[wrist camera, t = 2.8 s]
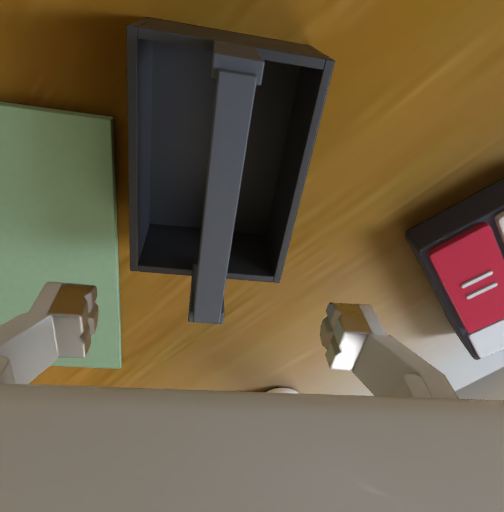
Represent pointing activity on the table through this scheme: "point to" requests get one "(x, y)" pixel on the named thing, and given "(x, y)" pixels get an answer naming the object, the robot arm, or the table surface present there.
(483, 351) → the calculator
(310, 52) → the caddy bin
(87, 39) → the table surface
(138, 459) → the robot arm
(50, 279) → the desk mat
